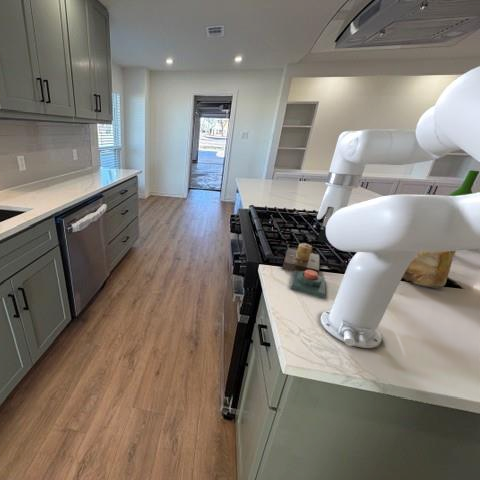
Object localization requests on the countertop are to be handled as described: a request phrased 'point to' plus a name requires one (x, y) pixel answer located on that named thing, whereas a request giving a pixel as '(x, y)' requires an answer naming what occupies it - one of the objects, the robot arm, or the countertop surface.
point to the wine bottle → (466, 184)
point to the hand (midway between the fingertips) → (323, 241)
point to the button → (310, 274)
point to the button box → (308, 284)
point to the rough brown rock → (430, 268)
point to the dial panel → (300, 262)
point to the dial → (304, 252)
